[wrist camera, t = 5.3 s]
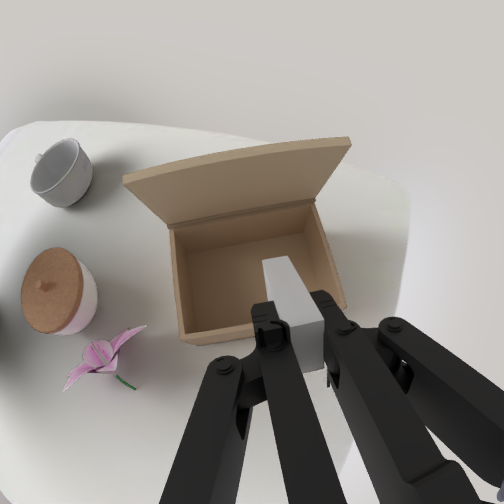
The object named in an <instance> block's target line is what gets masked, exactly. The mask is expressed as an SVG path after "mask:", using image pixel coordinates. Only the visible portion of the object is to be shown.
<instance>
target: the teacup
mask: <svg viewBox="0 0 504 504" xmlns="http://www.w3.org/2000/svg"><path fill="white" fill-rule="evenodd" d="M35 162H36V163H37V164H36V166H35V167H34V170H33V172H32V175H31V181H30V185H31V189H32V190H33V192H34V193H36V194H38V195H39V196H40V197H41V198H43V199H44V200H45V201H46V202H48V203H49V204H51V205H52V206H55V207H60V208H61V207H67V206H70V205H72V204H73V203H75V202H76V201H78V200H79V199H80V198H81V197H82V196H83V195H84V194H85V193H86V191H87V189H88V187H89V185H90V183H91V180H92V175H93V168H92V164H91V162H90V160H89V158H88V157H87V155H86V154H85V152H84V151H83V150H82V148H81V147H80V145H79V143H78V142H77V140H75V139H72V138H71V139H69V138H68V139H64V140H61V141H59V142H57V143H56V144H54V145H53V146H51V147H50V148H49V149H48V150H47V151H46V152H45V153H44V154H43V155H41V154H38V155H37V156H36V158H35Z"/></svg>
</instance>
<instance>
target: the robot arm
mask: <svg viewBox="0 0 504 504" xmlns="http://www.w3.org/2000/svg"><path fill="white" fill-rule="evenodd" d="M262 264H263V270H264V277H265V284H266V291H267V297H268V302H262V303H257V304H253V306H252V308H251V310H250V311H251V317H252V322H253V328H254V334H255V339H256V348H255V350H254V351H253V352H252V353H251V354H250V355H248V356H247V357H245V358H242V359H240V360H239V359H238V358H236V357H234V356H221V357H219V358H216V359H214V360H213V361H212V362H210V364H209V365H208V367H207V370H206V373H205V375H204V378H203V381H202V384H201V387H200V389H199V392H198V395H197V398H196V401H195V403H194V406H193V409H192V412H191V415H190V417H189V420H188V423H187V426H186V429H185V431H184V434H183V437H182V440H181V443H180V445H179V448H178V451H177V454H176V457H175V459H174V462H173V465H172V468H171V471H170V474H169V476H168V479H167V482H166V485H165V488H164V491H163V493H162V496H161V499H160V502H159V504H235V502H236V497H237V492H238V487H239V482H240V477H241V471H242V466H243V461H244V456H245V450H246V445H247V439H248V434H249V428H250V422H251V417H252V411H253V406H255V405H257V404H259V403H261V402H263V401H266V400H267V401H268V406H269V411H270V416H271V420H272V425H273V430H274V435H275V440H276V445H277V450H278V455H279V459H280V464H281V469H282V474H283V478H284V483H285V488H286V493H287V497H288V502H289V504H347V502H346V499H345V497H344V494H343V490H342V488H341V485H340V482H339V479H338V476H337V473H336V470H335V467H334V464H333V461H332V458H331V455H330V452H329V449H328V447H327V444H326V441H325V438H324V435H323V432H322V429H321V426H320V423H319V420H318V418H317V415H316V412H315V409H314V406H313V403H312V400H311V397H310V395H309V392H308V389H307V386H306V383H305V380H304V377H303V375H302V374H303V373H307V372H311V371H315V370H319V369H323V368H324V361H325V363H326V365H327V388H328V387H330V383H331V385H332V388H333V390H334V392H335V395H336V397H337V399H338V402H339V404H340V406H341V409H342V411H343V413H344V416H345V418H346V421H347V423H348V425H349V428H350V430H351V433H352V435H353V437H354V440H355V442H356V445H357V447H358V449H359V452H360V454H361V457H362V459H363V461H364V464H365V467H366V469H367V472H368V474H369V477H370V479H371V481H372V484H373V487H374V489H375V491H376V494H377V497H378V499H379V502H380V504H494V503H490V502H485V501H482V500H480V499H479V497H478V495H477V493H476V491H475V489H474V487H473V486H472V484H471V482H470V480H469V479H468V477H467V475H466V473H465V471H464V470H463V468H462V467H461V465H460V464H459V463H458V462H456V461H454V460H447V459H445V458H444V457H443V456H442V454H441V452H440V450H439V449H438V447H437V445H436V444H435V442H434V440H433V439H432V437H431V435H430V434H429V432H428V430H427V429H426V427H427V428H428V429H429V430H430V431H431V432H432V433H434V434H435V435H436V436H437V437H438V438H439V439H440V440H441V441H442V442H443V443H444V444H445V445H446V446H447V447H448V448H449V449H450V450H451V451H452V452H453V453H455V454H456V455H457V456H458V457H459V458H460V459H461V460H462V461H463V462H464V463H465V464H466V465H467V466H468V467H469V468H470V469H471V470H473V472H475V473H476V474H477V475H478V476H479V477H480V478H482V479H483V480H484V481H486V482H487V483H489V484H491V485H493V486H495V487H498V488H500V490H499V491H498V493H497V500H498V501H500V502H502V501H504V391H503V390H501V389H500V388H499V387H498V386H496V385H495V384H494V383H492V382H491V381H490V380H488V379H487V378H486V377H484V376H483V375H482V374H480V373H479V372H477V371H476V370H475V369H473V368H472V367H471V366H469V365H468V364H466V363H465V362H464V361H462V360H461V359H460V358H458V357H457V356H455V355H454V354H452V353H451V352H450V351H448V350H447V349H446V348H444V347H443V346H441V345H440V344H439V343H437V342H436V341H434V340H433V339H432V338H430V337H429V336H427V335H426V334H424V333H422V332H421V331H420V330H418V329H417V328H416V327H414V326H413V325H411V324H410V323H408V322H407V321H405V320H404V319H402V318H398V317H388V318H385V319H383V320H382V321H381V322H380V324H379V327H378V328H360V326H359V325H358V324H357V323H356V322H354V321H351V320H348V319H347V318H346V316H345V315H344V314H343V312H342V311H341V309H340V308H339V306H338V305H337V303H336V302H335V300H334V299H333V297H332V296H331V295H330V293H328V292H326V291H324V290H318V291H313V292H308V290H307V288H306V287H305V285H304V283H303V282H302V280H301V278H300V276H299V275H298V273H297V271H296V269H295V268H294V266H293V264H292V263H291V261H290V259H289V257H288V256H282V257H276V258H271V259H265V260H262ZM402 360H403V361H404V362H406V363H404V362H403V361H402ZM425 426H426V427H425Z"/></svg>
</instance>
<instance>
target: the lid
mask: <svg viewBox="0 0 504 504" xmlns="http://www.w3.org/2000/svg"><path fill="white" fill-rule="evenodd" d="M351 145H352V144H351V141H350V139H349V137H335V138H322V139H311V140H300V141H291V142H283V143H275V144H268V145H260V146H254V147H247V148H241V149H235V150H229V151H224V152H218V153H213V154H208V155H203V156H198V157H193V158H188V159H184V160H179V161H175V162H171V163H167V164H162V165H158V166H154V167H151V168H147V169H143V170H139V171H135V172H132V173H128V174H125V175H122V177H123V185H124V186H125V187H126V188H127V189H128V190H129V191H130V192H132V193H133V194H134V195H135V196H136V197H137V198H138V199H139V200H140V201H141V202H142V203H144V204H145V205H146V206H147V207H148V208H149V209H150V210H151V211H152V212H153V213H154V214H156V215H157V216H158V217H159V218H160V219H161V220H162V221H163V222H164V223H166V224H167V227H168V229H170V228H175V227H180V226H185V225H190V224H195V223H200V222H205V221H210V220H215V219H220V218H225V217H231V216H236V215H241V214H247V213H252V212H258V211H264V210H269V209H275V208H281V207H287V206H293V205H299V204H305V203H312V202H315V201H316V199H315V197H316V196H317V195H318V193H319V192H320V190H321V189H322V187H323V186H324V185H325V183H326V182H327V180H328V179H329V177H330V176H331V174H332V173H333V172H334V170H335V169H336V167H337V166H338V164H339V163H340V161H341V160H342V159H343V157H344V156H345V154H346V153H347V151H348V150H349V148H350V147H351Z"/></svg>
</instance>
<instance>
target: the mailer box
mask: <svg viewBox="0 0 504 504" xmlns="http://www.w3.org/2000/svg"><path fill="white" fill-rule="evenodd" d="M169 231H170V246H171V259H172V271H173V282H174V291H175V301H176V309H177V317H178V325H179V332H180V340H181V341H184V342H187V343H190V344H193V345H196V346H200V345H206V344H213V343H219V342H225V341H231V340H237V339H242V338H248V337H253V336H255V334H254V328H253V322H252V317H251V311H250V310H251V308H252V306H253V304H257V303H262V302H268V297H267V291H266V284H265V277H264V270H263V264H262V260H265V259H271V258H276V257H282V256H288V257H289V259H290V261H291V263H292V264H293V266H294V268H295V269H296V271H297V273H298V275H299V276H300V278H301V280H302V282H303V283H304V285H305V287H306V288H307V290H308V292H313V291H318V290H324V291H326V292H328V293H330V295H331V296H332V297H333V299H334V300H335V302H336V303H337V305H338V306H339V308H340V309H341V311H342V310H343V309H345V308H346V307H347V305H346V302H345V298H344V295H343V291H342V287H341V284H340V281H339V277H338V274H337V270H336V267H335V264H334V261H333V257H332V254H331V251H330V248H329V245H328V242H327V239H326V235H325V232H324V229H323V226H322V223H321V221H320V218H319V215H318V212H317V209H316V206H315V203H314V202H312V203H305V204H299V205H293V206H287V207H281V208H275V209H269V210H264V211H258V212H252V213H247V214H241V215H236V216H231V217H225V218H220V219H215V220H210V221H205V222H200V223H195V224H190V225H185V226H180V227H175V228H170V229H169Z"/></svg>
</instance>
